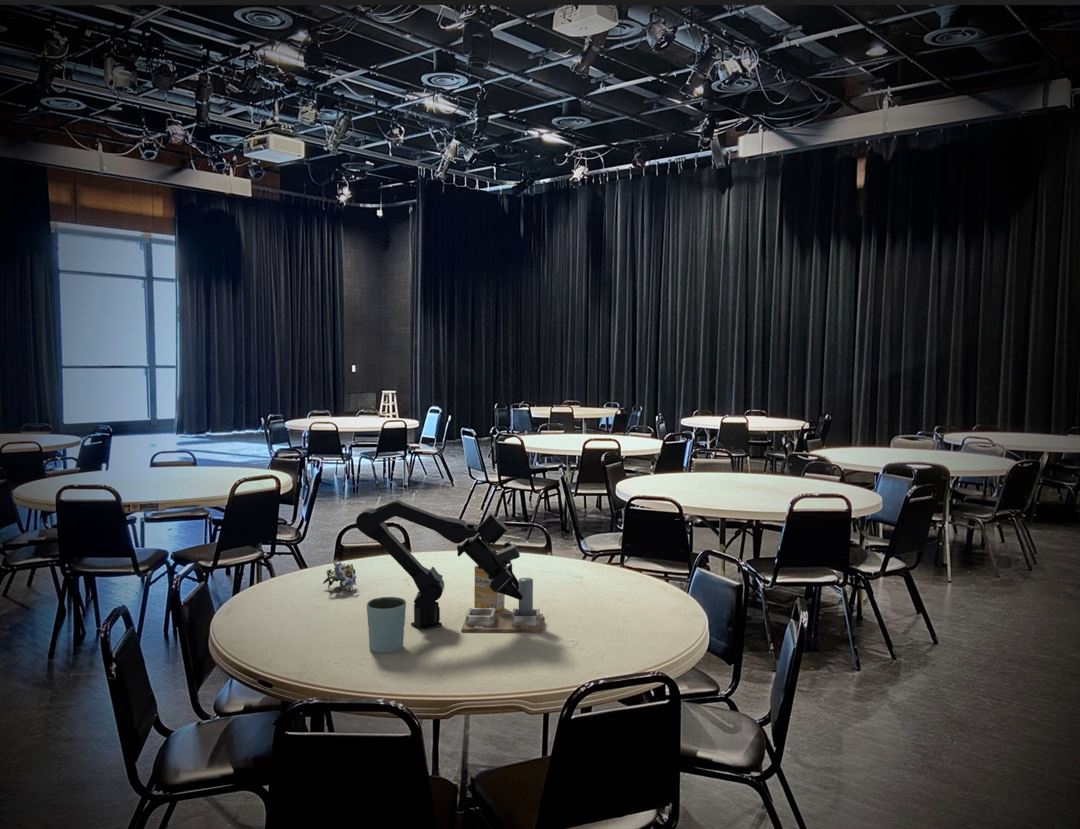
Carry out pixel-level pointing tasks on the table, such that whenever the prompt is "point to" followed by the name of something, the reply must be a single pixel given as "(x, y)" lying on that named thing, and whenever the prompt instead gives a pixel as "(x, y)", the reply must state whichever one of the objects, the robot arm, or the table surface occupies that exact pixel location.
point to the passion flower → (342, 576)
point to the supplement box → (486, 592)
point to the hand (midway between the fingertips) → (521, 594)
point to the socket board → (501, 621)
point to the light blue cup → (386, 624)
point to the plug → (526, 597)
